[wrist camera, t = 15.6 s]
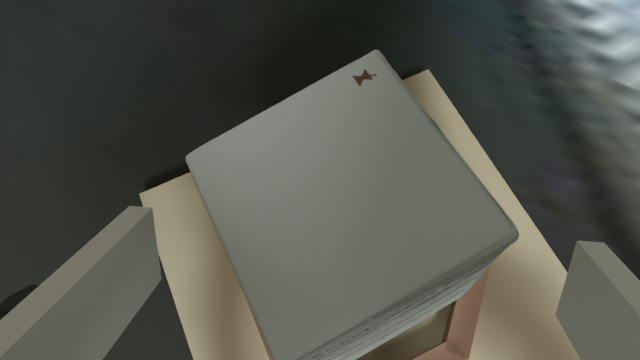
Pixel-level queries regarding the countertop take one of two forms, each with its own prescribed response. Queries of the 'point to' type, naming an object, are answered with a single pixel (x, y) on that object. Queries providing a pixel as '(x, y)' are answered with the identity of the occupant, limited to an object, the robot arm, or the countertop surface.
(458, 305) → the collar board
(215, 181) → the supplement box
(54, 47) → the countertop surface
